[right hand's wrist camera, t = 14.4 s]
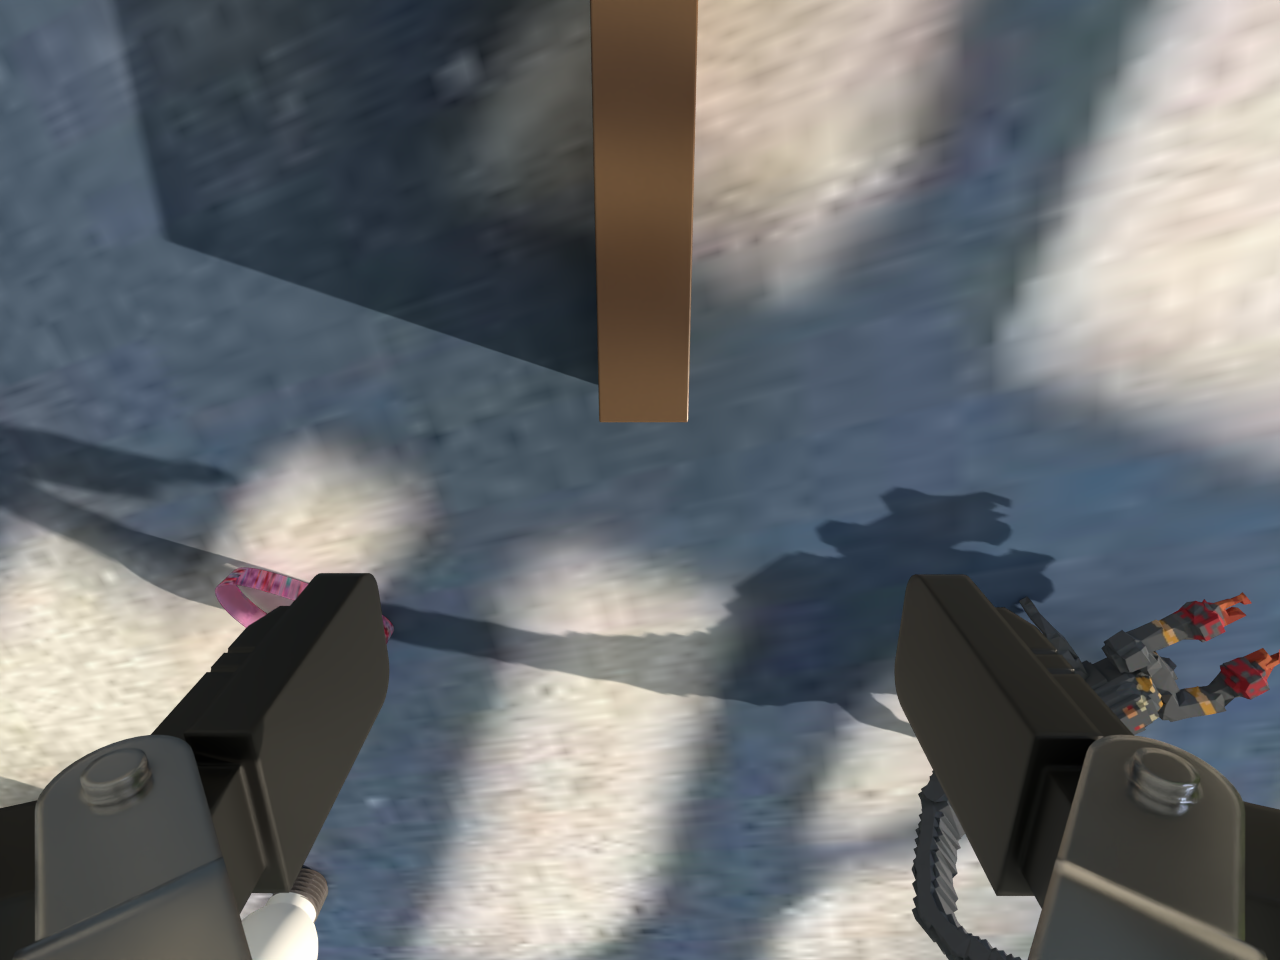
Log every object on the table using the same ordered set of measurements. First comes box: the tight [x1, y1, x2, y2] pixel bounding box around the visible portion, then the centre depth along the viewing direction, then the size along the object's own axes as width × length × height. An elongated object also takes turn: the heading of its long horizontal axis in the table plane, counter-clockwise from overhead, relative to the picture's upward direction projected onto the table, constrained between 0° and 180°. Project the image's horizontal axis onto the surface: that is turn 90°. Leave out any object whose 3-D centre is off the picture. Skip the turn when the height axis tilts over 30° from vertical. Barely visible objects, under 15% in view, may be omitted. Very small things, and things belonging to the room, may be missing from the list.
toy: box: [912, 592, 1280, 960], centre depth 43 cm, size 13×27×18 cm, turn 125°
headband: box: [215, 568, 394, 644], centre depth 48 cm, size 11×4×2 cm, turn 67°
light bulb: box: [241, 869, 328, 960], centre depth 53 cm, size 7×7×11 cm
